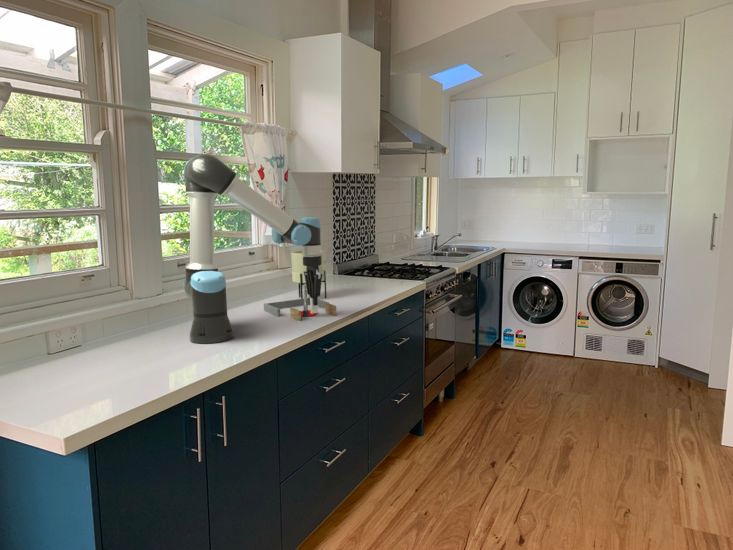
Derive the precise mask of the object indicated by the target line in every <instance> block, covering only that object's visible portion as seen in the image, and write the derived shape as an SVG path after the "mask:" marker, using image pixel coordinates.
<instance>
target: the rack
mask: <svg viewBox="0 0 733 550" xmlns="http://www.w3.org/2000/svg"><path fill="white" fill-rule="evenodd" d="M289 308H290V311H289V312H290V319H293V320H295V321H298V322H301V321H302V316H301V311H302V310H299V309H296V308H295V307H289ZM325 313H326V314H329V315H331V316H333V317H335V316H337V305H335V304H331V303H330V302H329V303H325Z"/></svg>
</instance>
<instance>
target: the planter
mask: <svg viewBox="0 0 733 550" xmlns="http://www.w3.org/2000/svg"><path fill="white" fill-rule="evenodd" d="M290 255H291V256H290V259H291V260H290V261H291V278H292V282H293V283H296V284H298V285H297V286H298V298H300V299H304V290H303V286H304V285H306V282H305V276H304V271H306V268H307V266H304V265H303V257H304V255H303V254H302V250H293V251H291V253H290ZM320 256H321V260H322V264H321V265H319V266H318V267H319V273H320V274H322V279H321V283H324V299H327V280H326V279H327V275H326V274H327V273H326V270H325V262H324V261H325V258H324V251H323V250H321V254H320Z"/></svg>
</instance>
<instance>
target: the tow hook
mask: <svg viewBox="0 0 733 550" xmlns="http://www.w3.org/2000/svg"><path fill="white" fill-rule="evenodd" d="M307 295H308V294H307V288H306V284H305V285H303V299H304V305H303V310H300V311H301V317H303V318H304V317H307V318H308V317H314V316H316V315H317V314H318V313H311V309H308V307H309V305H308V304H307V298H308V296H307Z"/></svg>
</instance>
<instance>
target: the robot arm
mask: <svg viewBox="0 0 733 550" xmlns="http://www.w3.org/2000/svg"><path fill="white" fill-rule="evenodd" d="M183 177H184V180H185V194H186V195H187V196H188V197H189V263H188V264H187V265H186V266H185V278H184V279H183V291H184V293H185V295H186V296H187V298H188V299H190V301H192V303H191V304H192V313H193V314H192V315H193V316H192V317H193V319H192V323H191V327H190V331H189V341H190V342H191V343H195V344H214V343H222V342H226V341H229V340H231V339H232V338H234V337H235V334H234V328H233V326H232V323H231V321H230V319H229V318H230V317H229V315H228V306H227V305H228V303H227V281H226V277H225V274H223V273H222V272H220V271H219V267H218V266H217V265H216V264H215V198H216V197H218V196H225V197H227V198H229V199H230V200H231V201H233V202H234V203H235V204H237V205H238V206H240V207H241V208H243V210H245V211H247V212H248V213H249V214H250V215H252V216H254V217H255V218H257V219H258V220H260V221H261V222H262V223H264V224H265V225H266V226H268V227H270V228H271V238H272V241H273V242H274V243H275V244H285V243H286V244H290V245H291V244H292V245H295V246H301V248H302V250H301V251H302V254H303V255H304V257H303V265H304V266H307V268H306V271H304V276H305V282H306V284H305V285H306V290H307V295H308V298H310V305H309V307H310V310H311V313H317V314H318V313H319V306H318V299H319V297H321V292H322V291H321V290H322V282H321V279H322V274H320V273H319V267H318V266H319V265H321V264H322V260H321V256H320V254H321V251H322V244H321V241H322V240H321V222H320V218H319V217H316V216H315V217H313V216H312V217H309V216H308V217H302V218H301V219H300V222H298V221H297V220H295V219H293V217H291V216H290V215H289V214H287V213H286V212H285V211H284V210H282V209H281V208H279V207H278V206H277V205H275V204H274V203H272V202H271V201H270V200H268V199H267V198H266V197H264V196H263V195H262V194H260V193H259V192H258V191H256V190H254V189H253V188H252V187H251V186H250V185H248V184H247V183H246V182H244V181H243V180H242V179H240V178H239V177H238V174H237V172H235V170H233V169H231V168H230V167H229V166H228V165H227V164H225V163H224V162H222V161H221V159H219V158H217V156H214V155H212V154H207V153H206V154H204V153H202V154H200V155H196V156H193V157H192V158H190V159H189V160H188V161H187V162H186V163H185V166H184V168H183Z"/></svg>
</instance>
